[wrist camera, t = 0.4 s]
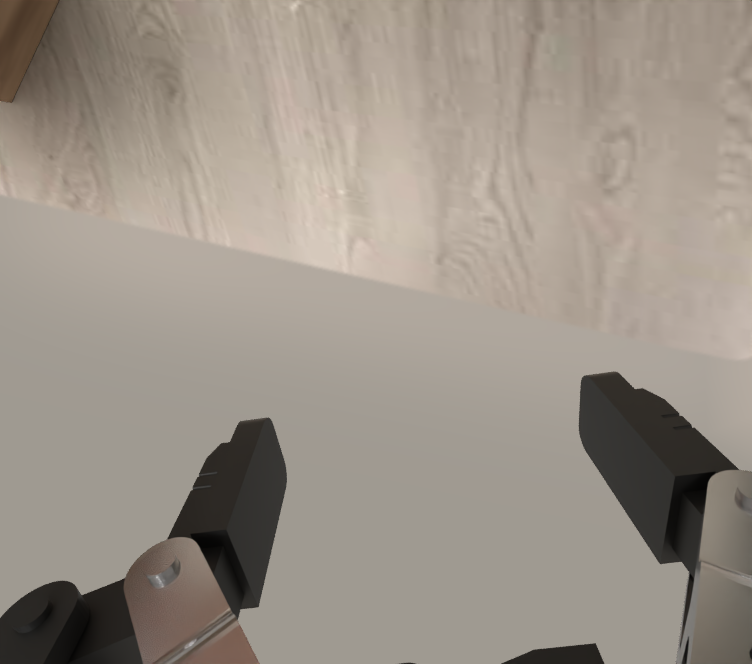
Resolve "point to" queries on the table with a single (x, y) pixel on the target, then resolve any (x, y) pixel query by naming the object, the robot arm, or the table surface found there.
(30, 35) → the wooden block
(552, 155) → the table surface
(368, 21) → the table surface
